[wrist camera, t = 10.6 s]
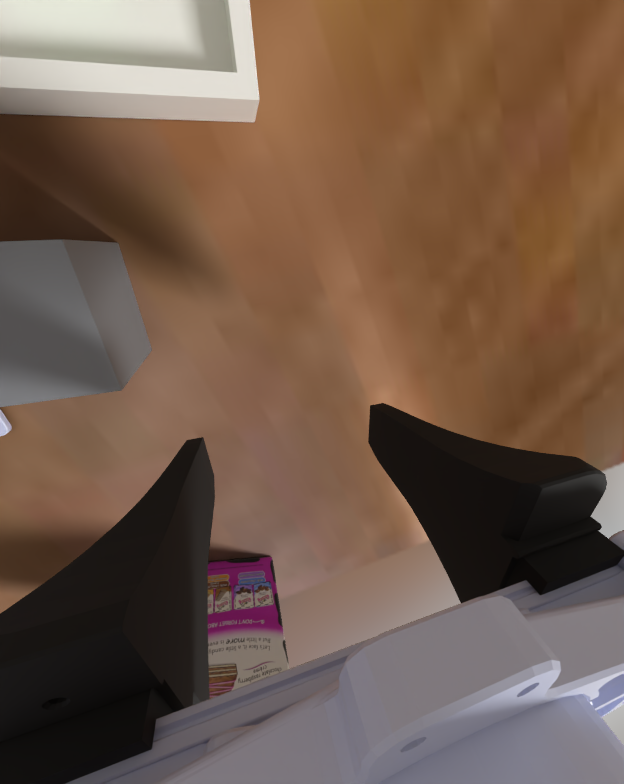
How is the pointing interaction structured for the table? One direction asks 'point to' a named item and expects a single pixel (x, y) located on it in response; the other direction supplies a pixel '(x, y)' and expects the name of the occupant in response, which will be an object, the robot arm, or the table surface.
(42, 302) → the gray block
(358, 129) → the table surface
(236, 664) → the candy bar box
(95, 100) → the tray
